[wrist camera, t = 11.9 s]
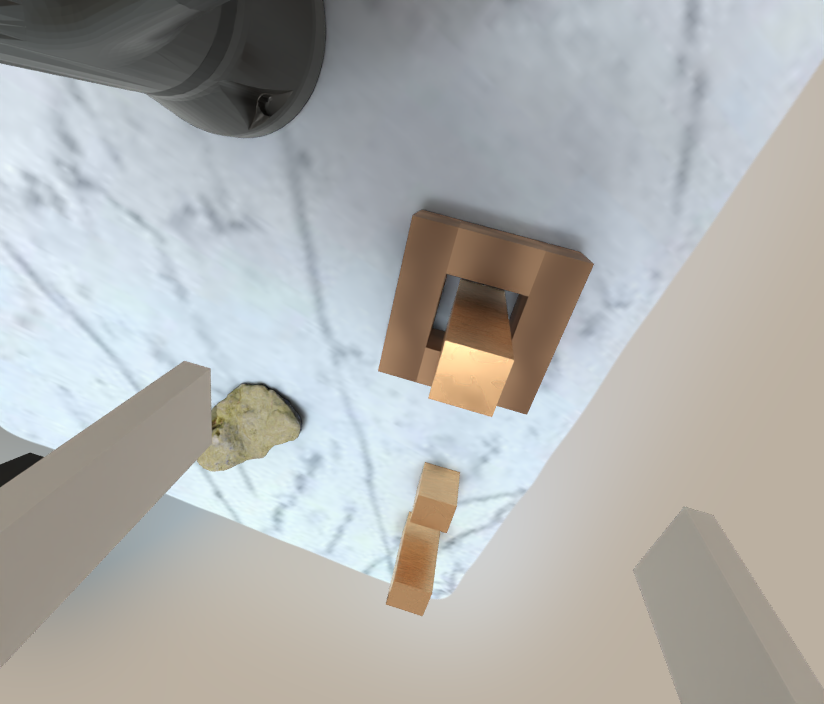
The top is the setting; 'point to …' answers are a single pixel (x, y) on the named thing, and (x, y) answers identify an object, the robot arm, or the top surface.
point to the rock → (248, 426)
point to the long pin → (474, 350)
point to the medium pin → (414, 568)
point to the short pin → (436, 497)
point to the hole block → (491, 265)
